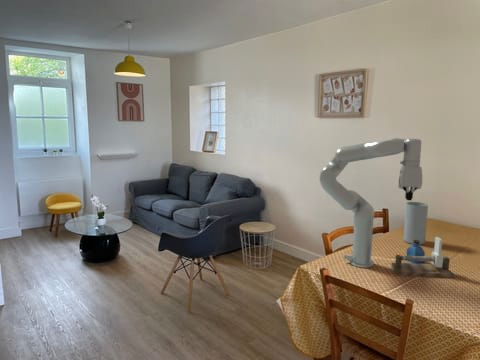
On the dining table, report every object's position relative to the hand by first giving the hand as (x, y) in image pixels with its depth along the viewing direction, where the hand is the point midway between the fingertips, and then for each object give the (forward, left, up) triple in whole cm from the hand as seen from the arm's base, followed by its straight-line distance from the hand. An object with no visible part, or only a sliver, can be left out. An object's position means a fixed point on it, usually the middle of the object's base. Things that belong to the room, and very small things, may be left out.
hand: (408, 199), depth 180 cm
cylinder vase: (+22, +47, -37) cm, 64 cm away
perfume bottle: (+10, +12, -37) cm, 41 cm away
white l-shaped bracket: (+15, -2, -33) cm, 36 cm away
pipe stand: (+8, -2, -37) cm, 38 cm away
